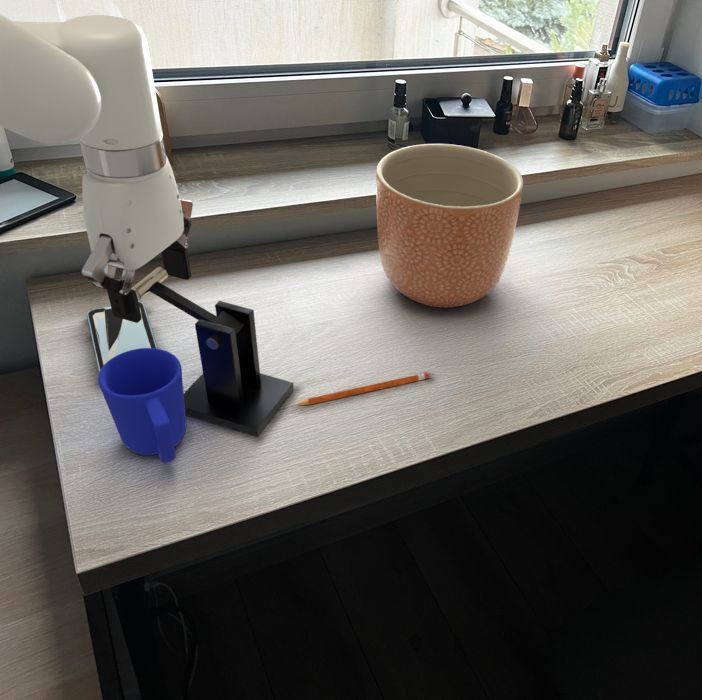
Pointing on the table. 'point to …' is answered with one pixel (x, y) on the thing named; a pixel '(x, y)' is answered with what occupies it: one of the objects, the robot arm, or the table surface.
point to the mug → (146, 400)
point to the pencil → (363, 389)
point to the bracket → (233, 377)
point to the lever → (182, 301)
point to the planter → (445, 221)
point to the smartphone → (118, 333)
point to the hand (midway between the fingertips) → (154, 296)
